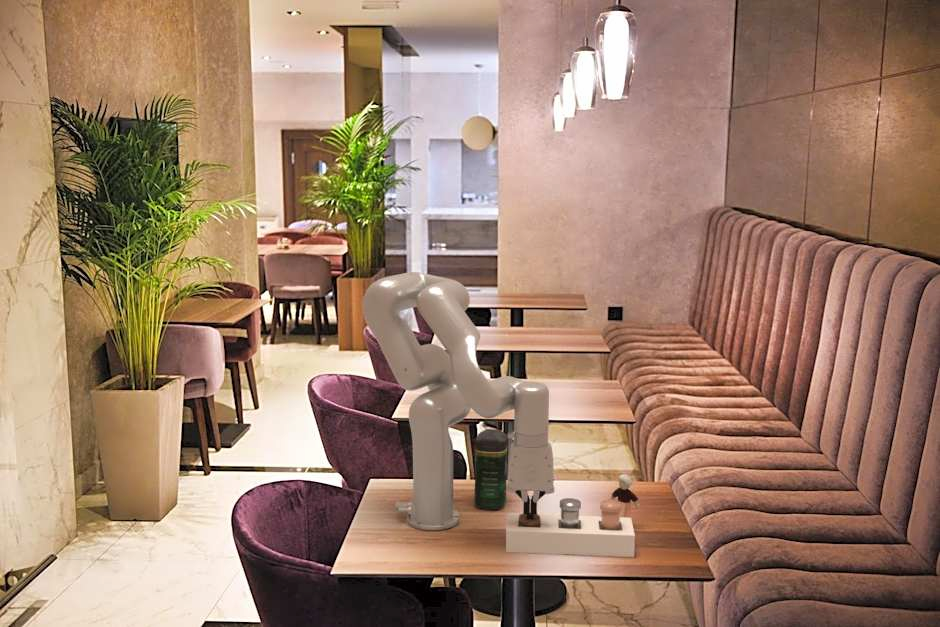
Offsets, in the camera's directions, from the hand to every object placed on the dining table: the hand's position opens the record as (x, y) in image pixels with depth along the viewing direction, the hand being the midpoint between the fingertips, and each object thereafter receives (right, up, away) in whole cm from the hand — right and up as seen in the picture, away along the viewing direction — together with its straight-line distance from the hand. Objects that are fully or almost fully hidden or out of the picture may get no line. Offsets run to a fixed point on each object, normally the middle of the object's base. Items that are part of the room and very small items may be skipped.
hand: (530, 516), depth 216 cm
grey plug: (+9, -2, 0) cm, 9 cm away
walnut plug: (0, -6, +1) cm, 6 cm away
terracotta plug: (+18, -3, -1) cm, 18 cm away
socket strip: (+9, -6, +1) cm, 11 cm away
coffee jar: (-8, -2, +25) cm, 26 cm away
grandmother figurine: (+23, -5, +11) cm, 26 cm away
